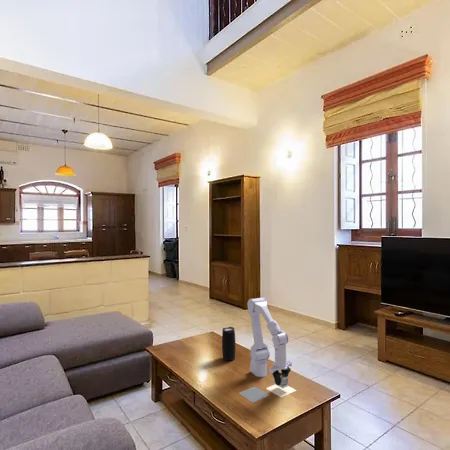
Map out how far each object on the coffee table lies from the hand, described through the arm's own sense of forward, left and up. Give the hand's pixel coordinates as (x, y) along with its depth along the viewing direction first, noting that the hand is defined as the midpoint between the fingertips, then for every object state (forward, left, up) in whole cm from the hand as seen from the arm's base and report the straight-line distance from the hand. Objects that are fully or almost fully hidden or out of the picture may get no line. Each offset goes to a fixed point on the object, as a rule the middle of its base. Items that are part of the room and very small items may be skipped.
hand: (281, 383), depth 162 cm
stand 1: (-5, -14, -5) cm, 16 cm away
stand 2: (0, 0, -5) cm, 5 cm away
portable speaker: (-49, +3, -5) cm, 49 cm away
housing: (0, 0, -1) cm, 1 cm away
